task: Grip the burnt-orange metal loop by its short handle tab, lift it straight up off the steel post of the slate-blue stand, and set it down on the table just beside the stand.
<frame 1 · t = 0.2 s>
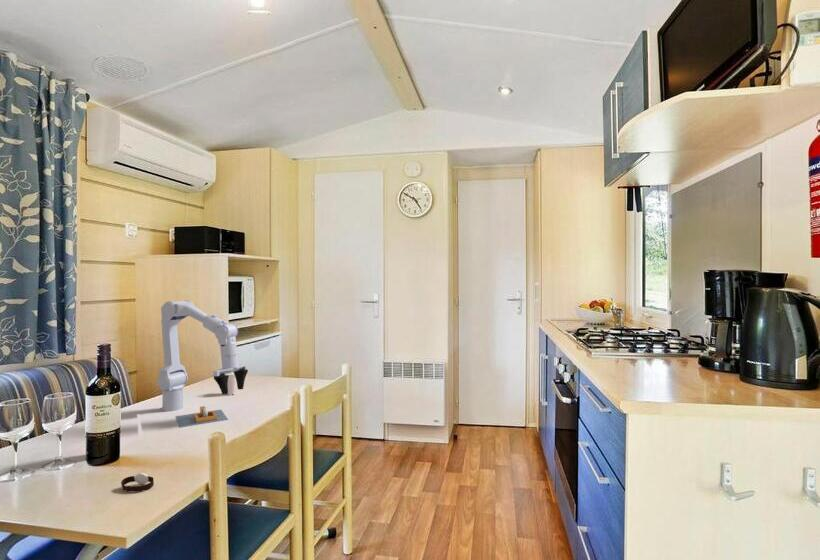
hand: (233, 391, 164), 10 cm above the table, tool pointing down, fingers open, 7 cm apart
loop: (205, 418, 161), point 1 cm above the table, touching stand
watch: (137, 489, 109), on the table
smoothie: (231, 394, 200), on the table
stand: (201, 420, 162), on the table
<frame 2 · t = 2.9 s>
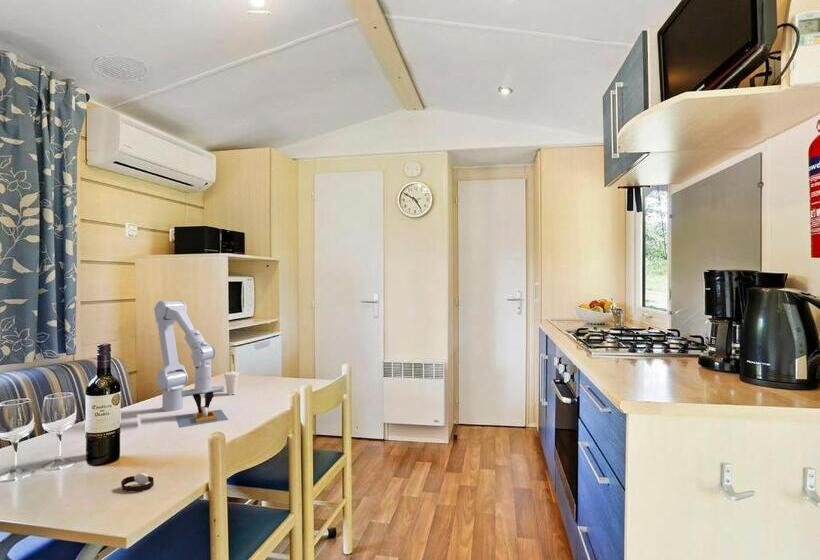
hand: (202, 413, 166), 2 cm above the table, tool pointing down, fingers closed on loop, 2 cm apart
loop: (205, 418, 161), point 1 cm above the table, touching gripper, stand
everything else where it was.
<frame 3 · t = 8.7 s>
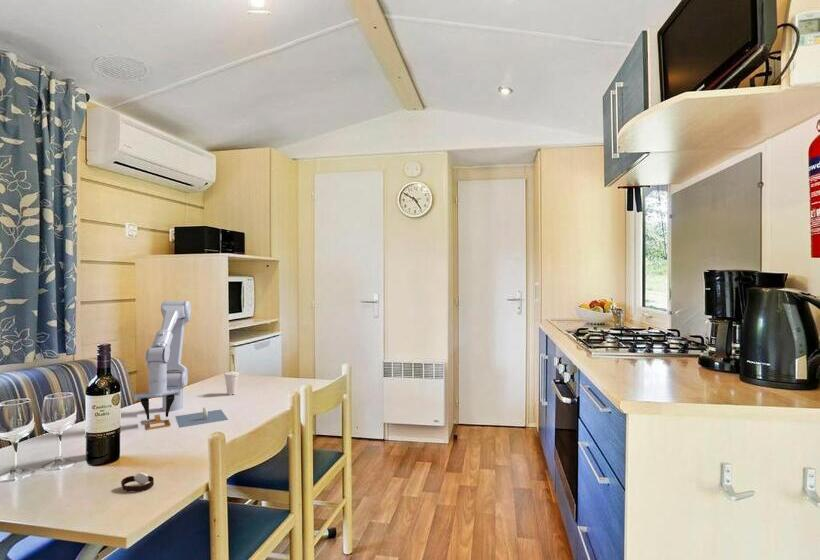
hand: (157, 417, 158), 2 cm above the table, tool pointing down, fingers open, 5 cm apart
loop: (158, 428, 154), on the table
everything else where it was.
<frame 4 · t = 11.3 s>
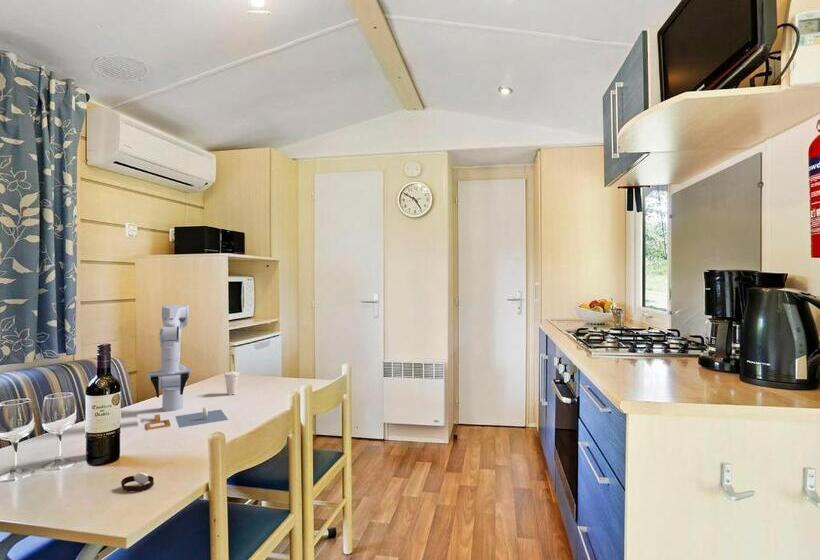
hand: (169, 395, 162), 9 cm above the table, tool pointing down, fingers open, 7 cm apart
nothing on the table moved.
at the end: loop inside the target area (1.5 cm from its centre), on the table; loop touching table; the gripper is holding nothing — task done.
